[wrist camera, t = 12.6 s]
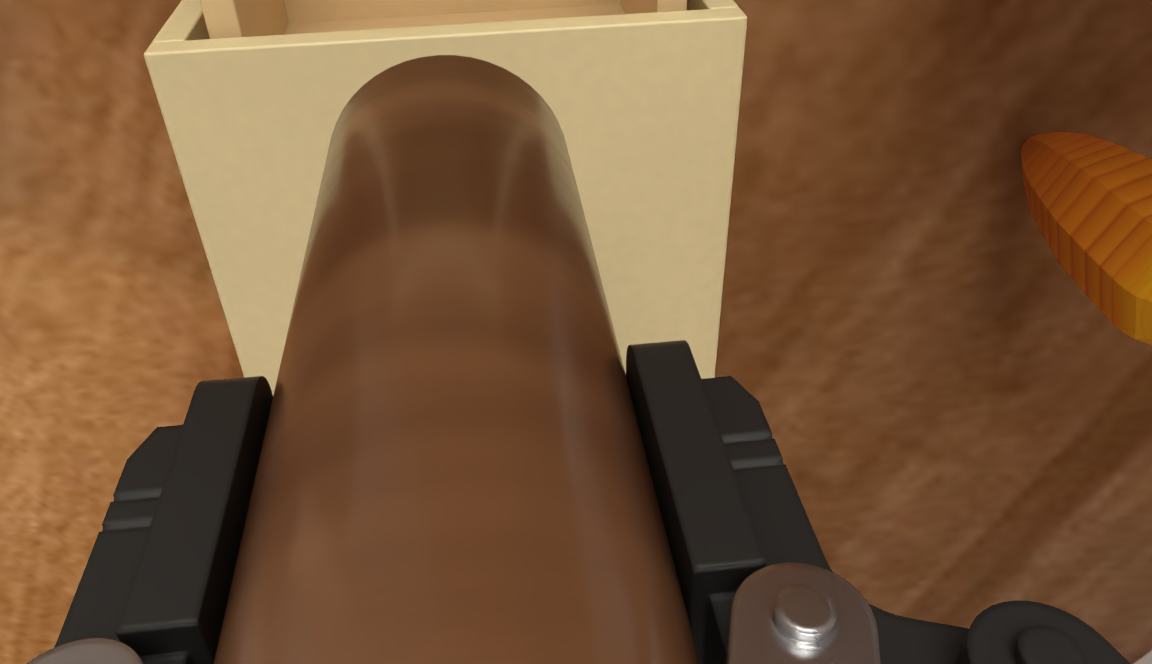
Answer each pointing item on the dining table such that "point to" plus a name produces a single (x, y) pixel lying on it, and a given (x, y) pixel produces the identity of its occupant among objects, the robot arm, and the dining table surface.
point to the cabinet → (539, 57)
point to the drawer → (399, 13)
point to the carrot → (1096, 220)
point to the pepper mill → (452, 408)
